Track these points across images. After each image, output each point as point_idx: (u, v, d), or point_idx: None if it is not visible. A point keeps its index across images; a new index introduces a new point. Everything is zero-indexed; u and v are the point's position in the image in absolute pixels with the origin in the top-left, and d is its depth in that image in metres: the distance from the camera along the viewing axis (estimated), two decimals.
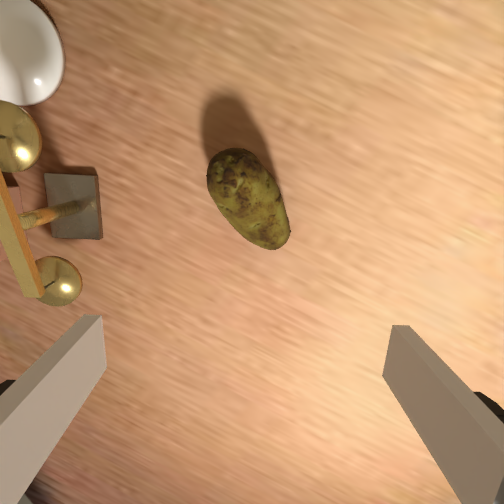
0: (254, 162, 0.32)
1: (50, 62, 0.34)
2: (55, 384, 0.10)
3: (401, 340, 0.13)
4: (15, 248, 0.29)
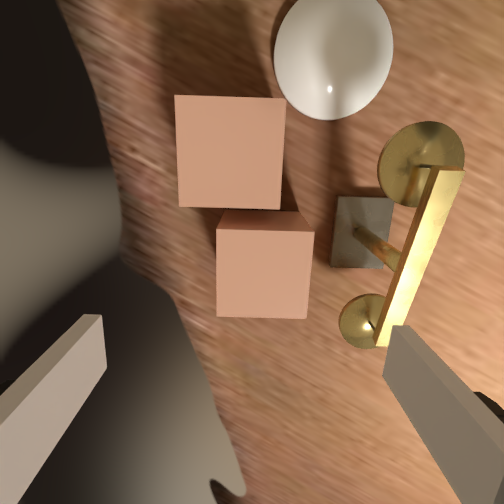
0: None
1: (377, 69, 0.29)
2: (55, 384, 0.10)
3: (401, 340, 0.13)
4: (407, 295, 0.25)
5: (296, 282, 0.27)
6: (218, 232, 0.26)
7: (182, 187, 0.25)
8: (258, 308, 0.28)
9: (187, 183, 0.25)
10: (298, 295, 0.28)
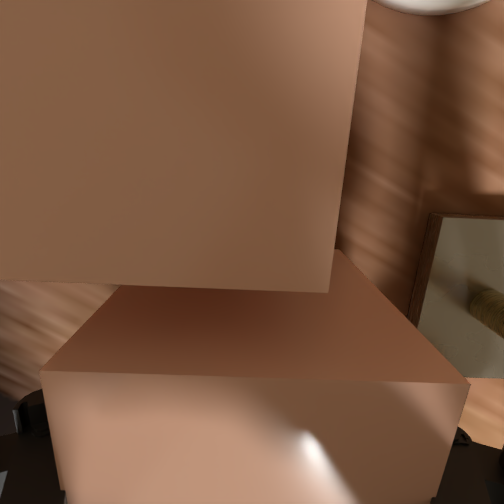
0: None
1: None
2: None
3: None
4: None
5: None
6: (51, 383, 0.06)
7: None
8: None
9: None
10: None
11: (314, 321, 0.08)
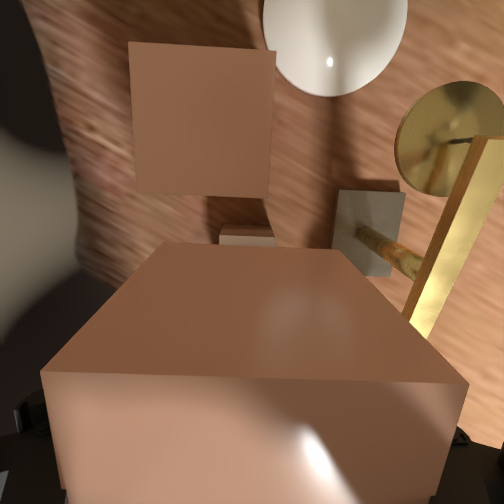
0: None
1: (388, 35, 0.24)
2: None
3: None
4: (431, 312, 0.19)
5: None
6: (52, 384, 0.06)
7: (140, 167, 0.19)
8: None
9: (147, 162, 0.19)
10: None
11: (314, 321, 0.08)
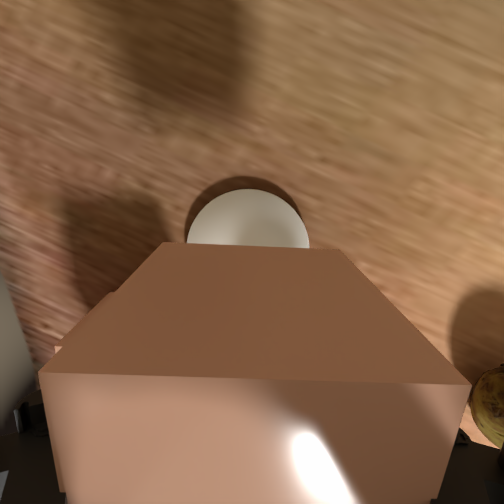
0: None
1: None
2: None
3: None
4: None
5: None
6: (50, 385, 0.06)
7: None
8: None
9: None
10: None
11: (314, 322, 0.08)
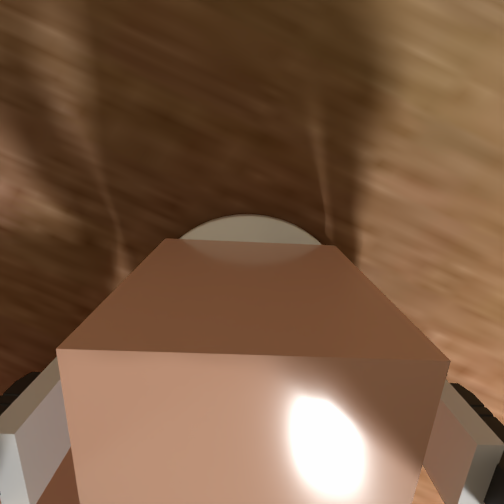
0: None
1: None
2: None
3: None
4: None
5: None
6: (66, 361, 0.06)
7: None
8: None
9: None
10: None
11: (309, 308, 0.09)
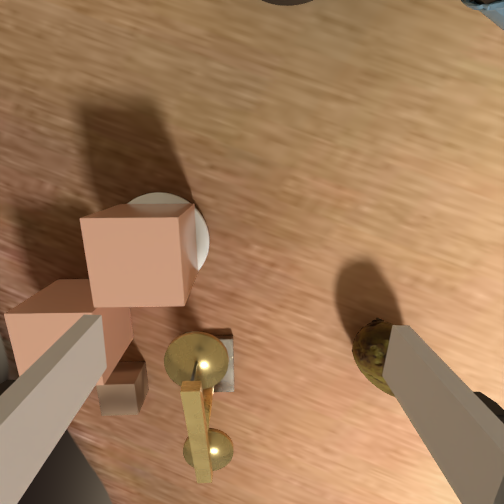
0: None
1: (198, 249, 0.36)
2: (55, 384, 0.10)
3: (401, 340, 0.13)
4: (202, 454, 0.31)
5: (168, 269, 0.28)
6: (82, 221, 0.26)
7: (22, 373, 0.31)
8: (134, 297, 0.28)
9: None
10: (172, 282, 0.28)
11: (154, 213, 0.28)
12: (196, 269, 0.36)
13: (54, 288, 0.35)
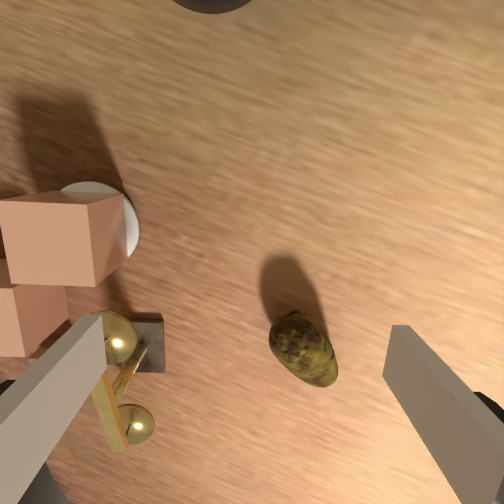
0: (315, 335, 0.37)
1: (128, 237, 0.39)
2: (55, 384, 0.10)
3: (401, 340, 0.13)
4: (111, 424, 0.34)
5: (79, 252, 0.30)
6: None
7: None
8: (48, 276, 0.31)
9: None
10: (83, 264, 0.30)
11: (70, 200, 0.31)
12: (124, 255, 0.38)
13: None
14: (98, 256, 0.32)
